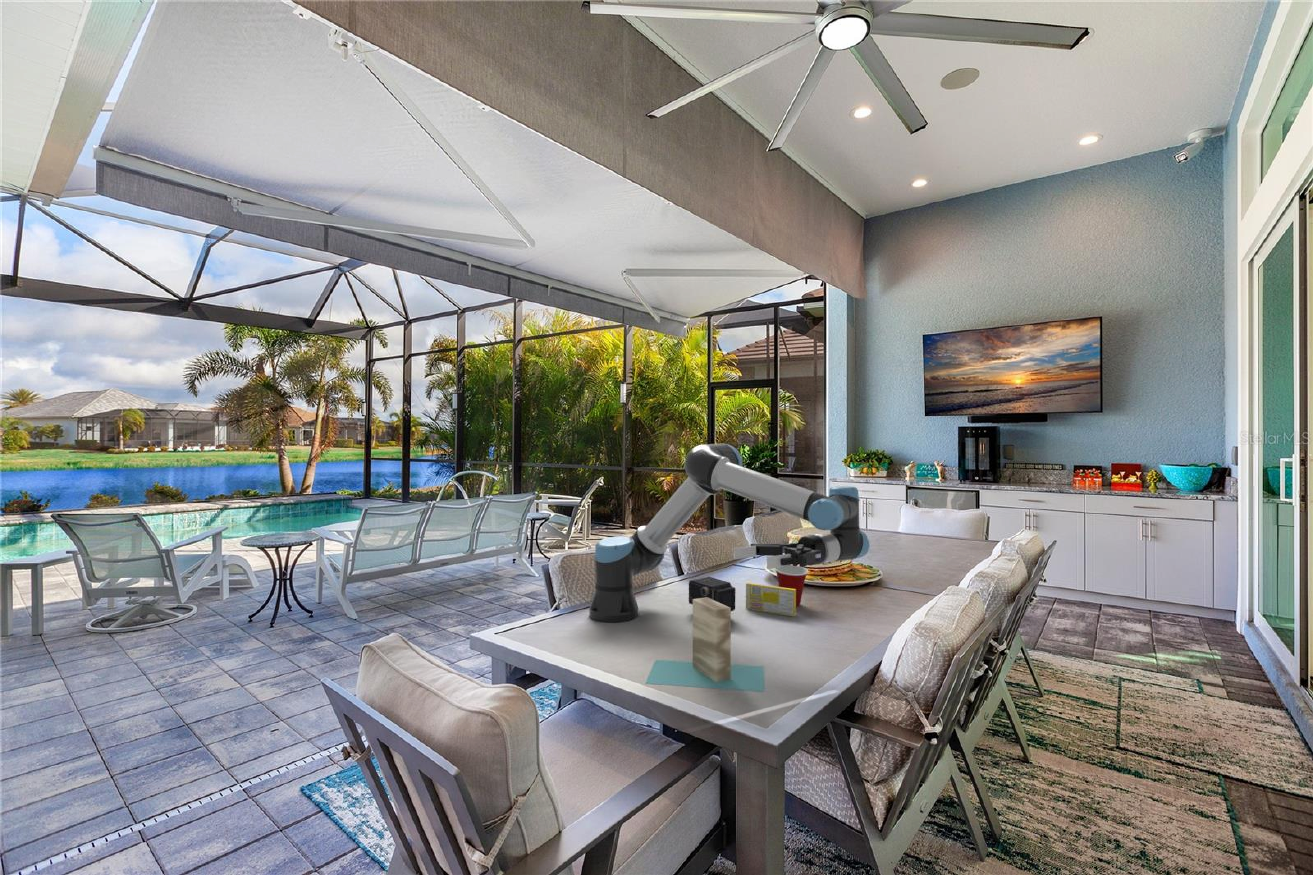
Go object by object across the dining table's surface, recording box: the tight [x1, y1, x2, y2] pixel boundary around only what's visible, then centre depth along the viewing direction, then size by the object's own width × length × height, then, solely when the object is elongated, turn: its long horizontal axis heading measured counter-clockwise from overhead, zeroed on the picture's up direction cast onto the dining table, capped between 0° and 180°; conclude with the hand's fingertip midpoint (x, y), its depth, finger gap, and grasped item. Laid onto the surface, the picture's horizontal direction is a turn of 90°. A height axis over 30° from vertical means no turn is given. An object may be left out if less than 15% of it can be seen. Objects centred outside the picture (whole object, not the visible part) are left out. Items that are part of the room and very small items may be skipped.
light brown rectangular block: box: [692, 597, 732, 682], centre depth 137 cm, size 4×10×16 cm, turn 28°
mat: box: [645, 659, 765, 693], centre depth 135 cm, size 26×14×1 cm, turn 81°
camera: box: [688, 576, 736, 612], centre depth 182 cm, size 11×11×15 cm
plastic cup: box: [774, 564, 809, 608], centre depth 193 cm, size 11×11×12 cm
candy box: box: [745, 582, 797, 618], centre depth 186 cm, size 16×2×8 cm, turn 58°
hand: (750, 558), depth 142 cm, fingers open, 13 cm apart
